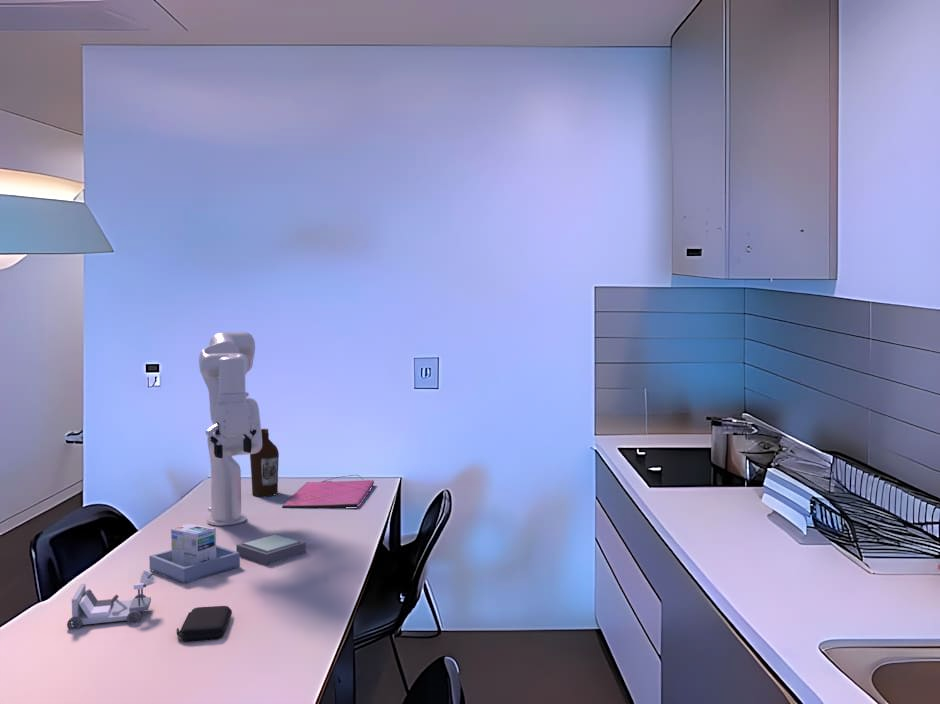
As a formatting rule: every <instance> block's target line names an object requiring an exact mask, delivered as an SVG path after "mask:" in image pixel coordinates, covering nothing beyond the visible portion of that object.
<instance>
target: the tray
mask: <svg viewBox="0 0 940 704" xmlns="http://www.w3.org/2000/svg"><path fill="white" fill-rule="evenodd" d="M240 557H241V556H240V553H239V552H237V550H236V551H235V550H232V549H231V548H227V547H224V546H220V545H218V544H216V558H215V559H212V560H208V561H205V562H201V563H198V564H194V565H191V566H187V567H183V566H181V565H178V564H176V563H173V562H172V549H170V550H166V551H163V552H158V553H155V554H151V555H149V560H148V561H149V570H150V569H151V570H153V571H155V573H156V572H157V573H156V574H158V573H160V574H159V575H161V574H162V575H161V576H163V575H164V576H163V577H165V576H166V578H168V579H171V580H173V581H175V582H178V583H181V584H183V585H185V584H189V583H192V582H195V581H199V580H201V579H206V578H208V577H211V576H215V575H218V574H221V573H224V572H229V571H232V570H234V569H237V568H240V567H241V565H240V564H241V559H240ZM151 570H150V571H151ZM153 571H152V572H153Z"/></svg>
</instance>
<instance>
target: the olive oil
mask: <svg viewBox="0 0 940 704" xmlns="http://www.w3.org/2000/svg"><path fill="white" fill-rule="evenodd" d="M261 432H262V448H261V450H260V451H259V452H258V453H255V454H249V460H250V473H251V474H250V476H251V492H252V495H253V496H254V497H259V498H260V497H261V498H262V497H264V496H266V497H271V496H270V495H273V496H275V495H274V494H276V495H278V493H279V490H278V489H279V486H278V483H279V457H280V456H279V455H280V454H279V449H278V447H277V446H276V444H274V443H273V442H272V441H271V440H270V437H269V435H270V434H269V433H270V432H269V428H261ZM264 498H265V497H264Z"/></svg>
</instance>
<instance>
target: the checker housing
mask: <svg viewBox="0 0 940 704" xmlns="http://www.w3.org/2000/svg"><path fill="white" fill-rule="evenodd" d="M272 535H278V536H281V537H285V538H288V539H291V540H295V541H298V543H299V544H295V545H292V546H289V547H285V548H282V549H279V550H275V551H272V552H269V553H266V552H262V551H259V550H256V549H253V548H250V547H247V546H244V543H247V542H251V541H254V540H258V539H261V538H265V537H268V536H272ZM235 545H236V546H235V547H236V548H235V549H236V552H239V553H240V557H241V556H242V557H241V558H245V559H247V558H248V559H247V560H250V561H253V562H257V563H259V564H262V565H265V566H268V565H271V563H272V564H275V563H278V562H281V561H284V560H287V559H290V558H289V557H291V558H294V557H297V556H300V555H303V554H306V553H307V543H306V542H305V541H302V540H298V539H296V538H292V537H288V536H284V535H283V534H278V533H273V534H270V535H267V536H263V537H260V538H257V539H252V540H249V541H245V542H242V543H237V544H235ZM305 552H306V553H305ZM299 554H300V555H299ZM296 555H297V556H296ZM293 556H294V557H293ZM280 560H281V561H280ZM277 561H278V562H277ZM274 562H275V563H274Z"/></svg>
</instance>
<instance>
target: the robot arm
mask: <svg viewBox="0 0 940 704" xmlns="http://www.w3.org/2000/svg"><path fill="white" fill-rule="evenodd" d="M208 345H209V346H207V347H204V348H203V349H202V350H201V352H200V353H199V356H198V367H199V371H200V374H201V376H202V379H203V380H204V383H205V385H206V387H207V390H208V398H209V399H208V400H209V412H210V420H211V422H212V424H213V425H212V426H210V427H209V428H208V429H206V430H205V434H206V436H207V437H206V439H207V440H206V442H207V448H208V454H209V461H210V486H211V488H210V489H211V506H209V507H208V508H207V511H208V512H210V516H208V517H207V518H206V523H207V524H208V525H211V526H217V527H218V526H222V527H223V526H224V527H225V526H234V525H239V524H241V523H243V522H245V521H246V520H247V515H246V514H244V513H242V477H241V476H242V474H241V473H242V470H241V467H240V465H239V463H238V462H237V461H236V460H235V459H234V458H233V457H236V456H243V455H250V454H255V453H258V452H259V451H260V450H261V448H262V432H261V429H262V425H261V414H260V408H259V404H258V402H257V400H255V399H254V398H251V397H249V395H250V394H249V392H247V391H246V376H247V374H248V373H249V371H251V370H252V368H253V363H254V358H255V353H256V341H255V338H254V337H253V335H252V334H251V333H249V332H246V331H237V332H235V331H233V332H232V331H228V332H227V331H226V332H218V333H215V334H214V335H213V336H212V337H211V338H210V339H209V343H208Z"/></svg>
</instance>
